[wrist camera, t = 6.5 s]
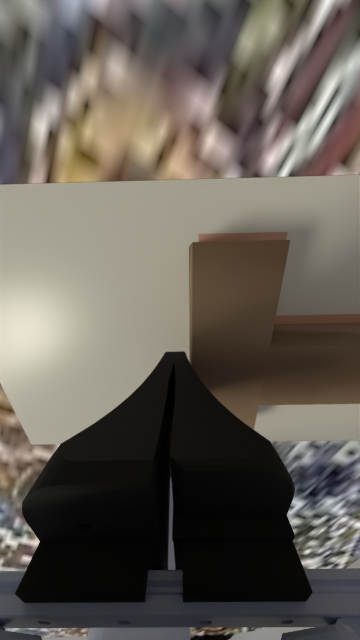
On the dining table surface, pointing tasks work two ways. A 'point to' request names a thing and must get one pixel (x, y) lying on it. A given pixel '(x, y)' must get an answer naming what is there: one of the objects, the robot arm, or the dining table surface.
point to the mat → (157, 287)
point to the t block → (262, 334)
